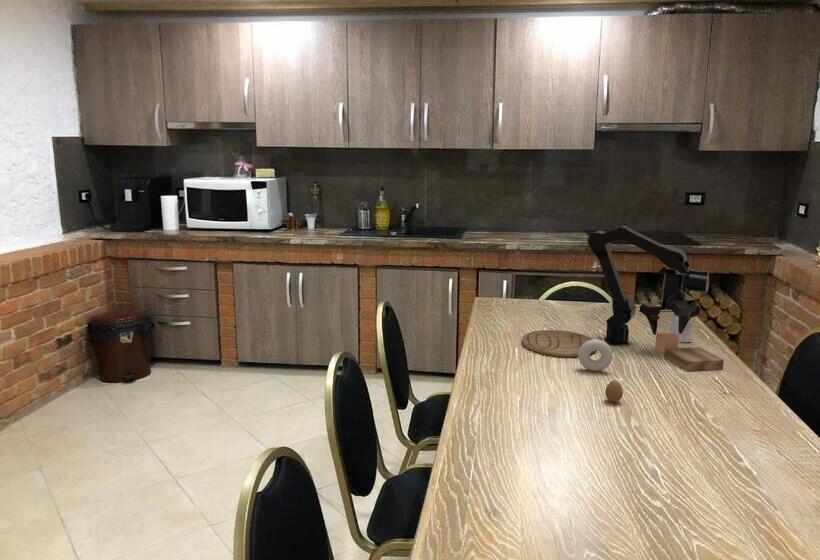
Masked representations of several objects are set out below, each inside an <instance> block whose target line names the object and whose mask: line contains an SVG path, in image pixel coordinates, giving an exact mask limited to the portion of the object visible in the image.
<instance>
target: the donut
mask: <svg viewBox="0 0 820 560" xmlns="http://www.w3.org/2000/svg"><path fill="white" fill-rule="evenodd" d="M592 339H593V340H589V341H586V342H585V343H584V344H582V346H581V347H580V349H579V352H578V358H577V359H578V361H579V363H580V365H581V366H582V367H583V368H584V369H587V370H588V371H591V372H601V371H604V370H605V369H608V367H609V366H610V365H611V363H612V362H613V359H614V358H613V350H612V348H611V346H609V345H610V344H608V342H605V340H601V339H596V338H595V339H594V338H592ZM592 351H597V352H599V353H600V357H599V358H598V359H595V360H594V359H592V358H591V356H590V353H591V352H592Z"/></svg>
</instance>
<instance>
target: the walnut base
mask: <svg viewBox="0 0 820 560" xmlns="http://www.w3.org/2000/svg"><path fill="white" fill-rule="evenodd" d="M664 358H665V359H666V360H668V362H669V361H670V362H671V363H673V364H674V365H676V366H677V367H679V368H681V369H683V370H684V371H685V370H686V371H685V372H696V371H697V372H698V371H699V370H702V371H714V370H715V371H717V370H718V371H719V370H723V369H724V361H725V360H724V359H722V358H720V357H719V356H717V355H715V354H713V353H712V352H710V351H707V349H704V348H702V347H699V346H697V347H695V346H694V347H681V348H680V347H678V348H674V349H666V351H665V354H664ZM699 372H700V371H699Z"/></svg>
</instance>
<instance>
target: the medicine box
mask: <svg viewBox="0 0 820 560" xmlns="http://www.w3.org/2000/svg"><path fill="white" fill-rule="evenodd" d="M670 322H671V323H670V329H669V331H671V332H672V333H674V334H676V335H678V336H679V341H678V343H682V342H686V343H687V342H690V343H691V342H692V334H693V332H692V331H693V325H694V324H693V323H694V318H691V319H690V320H689V322H688V323H687V325H686V327H685V329H684V330H683V332H682V334H679V330H678V323H679V316H676V315H675V314H674V312H671V320H670ZM686 343H685V344H686Z"/></svg>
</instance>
